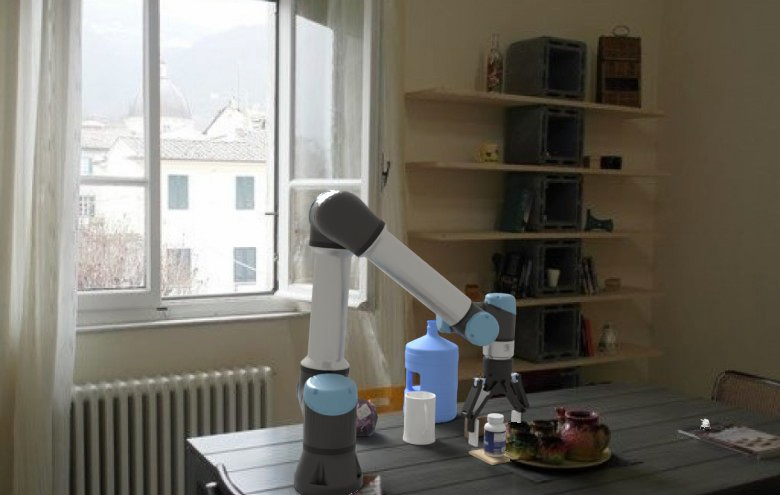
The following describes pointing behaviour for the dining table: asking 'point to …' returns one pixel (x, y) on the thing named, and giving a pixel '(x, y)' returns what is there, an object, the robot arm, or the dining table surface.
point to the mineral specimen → (365, 418)
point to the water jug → (434, 371)
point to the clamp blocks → (482, 423)
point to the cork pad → (488, 457)
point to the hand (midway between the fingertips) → (494, 441)
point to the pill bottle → (495, 436)
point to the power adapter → (705, 423)
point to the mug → (419, 418)
